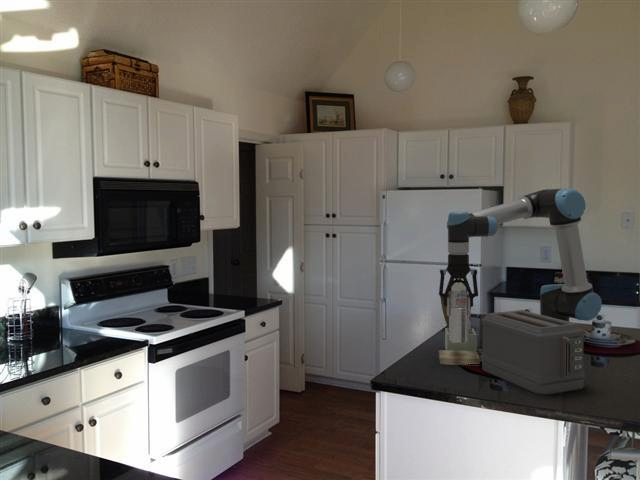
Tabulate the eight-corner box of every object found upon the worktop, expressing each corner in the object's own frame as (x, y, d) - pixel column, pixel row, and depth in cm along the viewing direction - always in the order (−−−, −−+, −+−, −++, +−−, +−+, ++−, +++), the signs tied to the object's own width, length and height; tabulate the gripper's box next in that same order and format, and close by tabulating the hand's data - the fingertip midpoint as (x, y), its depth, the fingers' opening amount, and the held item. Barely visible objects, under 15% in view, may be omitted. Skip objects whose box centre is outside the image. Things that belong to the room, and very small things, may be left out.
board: (476, 357, 224) (476, 350, 224) (479, 365, 213) (479, 358, 213) (438, 356, 226) (438, 350, 225) (440, 364, 215) (440, 357, 215)
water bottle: (468, 340, 221) (468, 274, 219) (466, 344, 214) (467, 276, 213) (450, 339, 223) (450, 273, 221) (447, 343, 217) (447, 276, 215)
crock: (473, 348, 238) (473, 328, 237) (476, 355, 226) (476, 334, 226) (445, 347, 239) (445, 328, 239) (447, 354, 228) (447, 334, 227)
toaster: (545, 398, 178) (546, 331, 176) (478, 368, 209) (478, 312, 208) (593, 390, 184) (594, 326, 183) (520, 362, 216) (521, 308, 214)
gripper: (484, 252, 219) (484, 313, 220) (430, 252, 222) (430, 312, 223) (487, 254, 211) (487, 317, 213) (431, 254, 214) (431, 316, 216)
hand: (458, 315), depth 218 cm, fingers closed on water bottle, 7 cm apart
